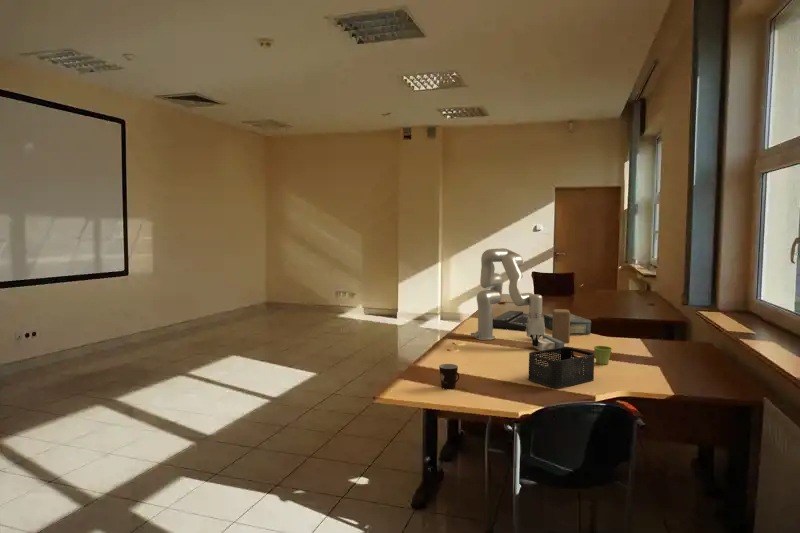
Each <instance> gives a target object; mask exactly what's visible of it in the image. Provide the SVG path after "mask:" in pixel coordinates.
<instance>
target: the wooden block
mask: <svg viewBox="0 0 800 533" xmlns="http://www.w3.org/2000/svg"><path fill="white" fill-rule="evenodd" d="M552 314H553V321H552V330H551V334H552V335H551V337H553V338H555V339H557V340H560V341H562V342H564V344H568V343H570V314H571V312H570V309H565V308H564V309H563V308H562V309H561V308H557V309H556V308H555V309H554V308H553V309H552Z"/></svg>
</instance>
